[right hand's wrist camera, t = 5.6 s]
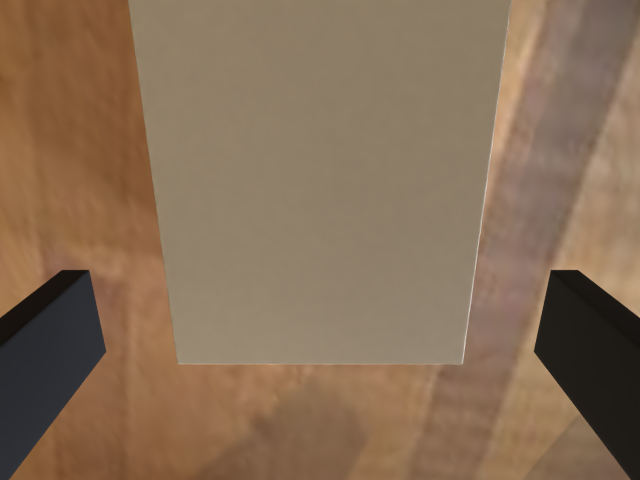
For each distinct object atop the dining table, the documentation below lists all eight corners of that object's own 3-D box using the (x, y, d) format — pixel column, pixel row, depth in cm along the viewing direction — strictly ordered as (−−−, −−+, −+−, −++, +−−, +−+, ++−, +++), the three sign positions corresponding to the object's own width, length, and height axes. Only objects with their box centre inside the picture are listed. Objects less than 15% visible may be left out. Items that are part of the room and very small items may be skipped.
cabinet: (194, -119, 19) (88, -282, 10) (445, -119, 19) (550, -283, 10) (225, 266, 26) (176, 364, 17) (414, 266, 26) (462, 364, 17)
